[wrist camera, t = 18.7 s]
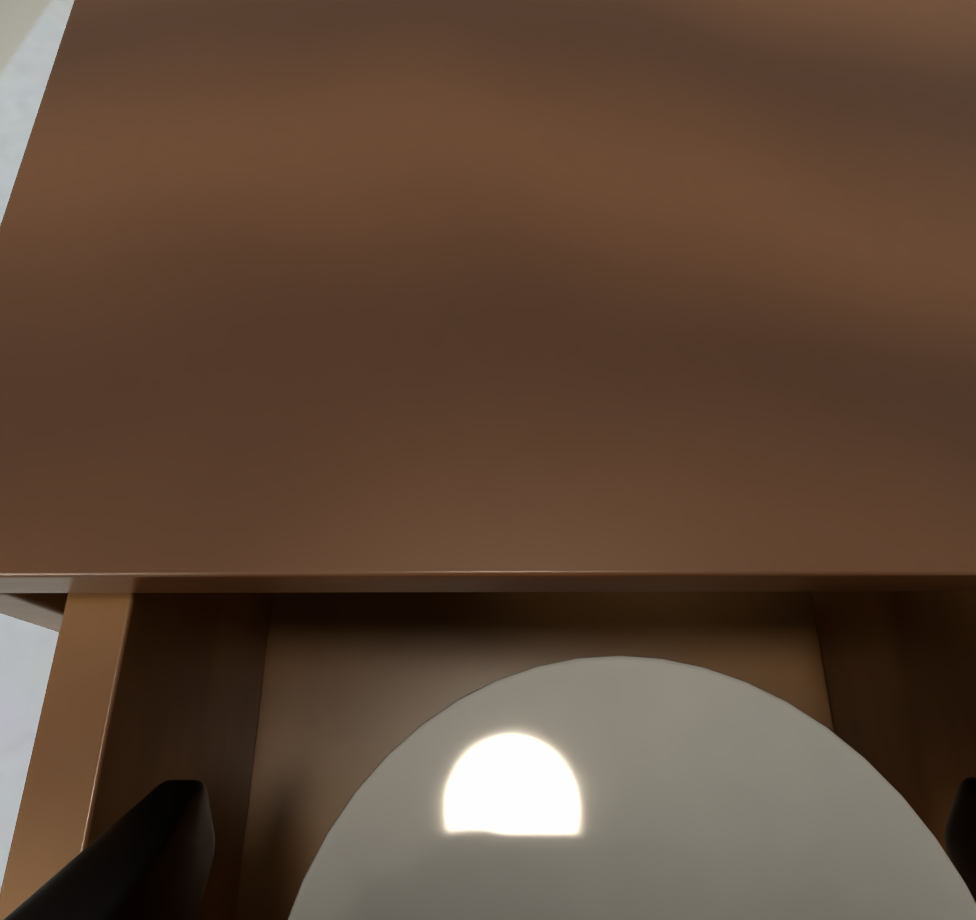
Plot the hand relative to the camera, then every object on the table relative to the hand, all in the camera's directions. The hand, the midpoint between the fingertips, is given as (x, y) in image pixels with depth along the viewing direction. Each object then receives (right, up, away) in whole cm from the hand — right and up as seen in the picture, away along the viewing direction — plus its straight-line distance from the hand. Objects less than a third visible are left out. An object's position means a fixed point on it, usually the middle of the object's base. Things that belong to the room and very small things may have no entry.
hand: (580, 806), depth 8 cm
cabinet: (0, +6, +10) cm, 12 cm away
